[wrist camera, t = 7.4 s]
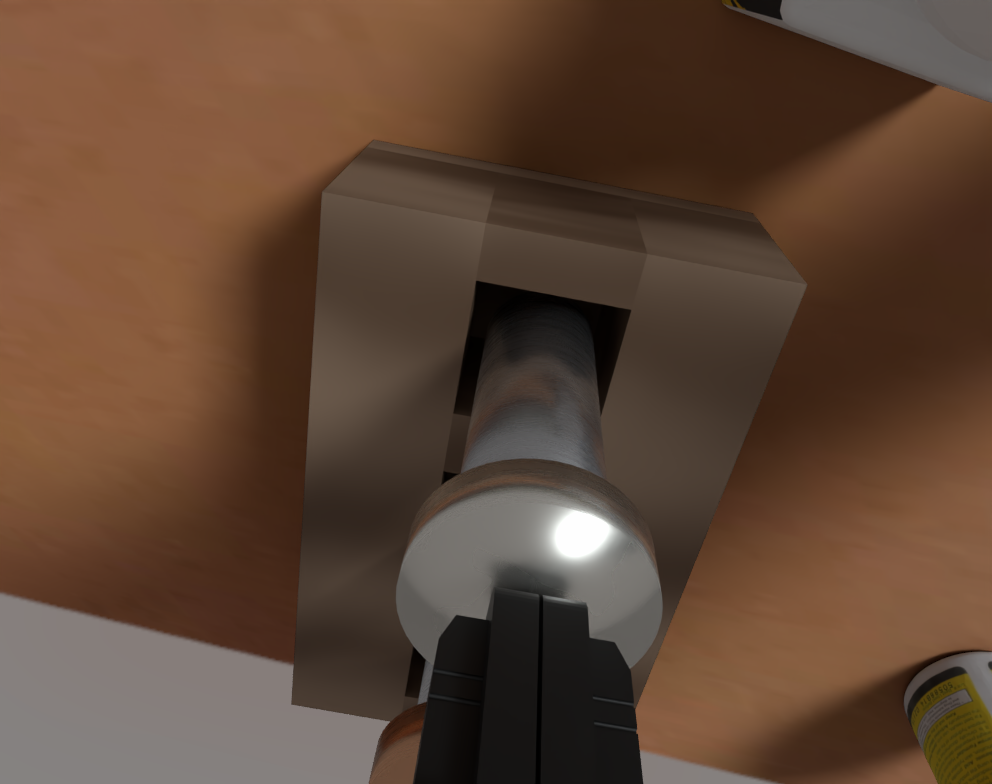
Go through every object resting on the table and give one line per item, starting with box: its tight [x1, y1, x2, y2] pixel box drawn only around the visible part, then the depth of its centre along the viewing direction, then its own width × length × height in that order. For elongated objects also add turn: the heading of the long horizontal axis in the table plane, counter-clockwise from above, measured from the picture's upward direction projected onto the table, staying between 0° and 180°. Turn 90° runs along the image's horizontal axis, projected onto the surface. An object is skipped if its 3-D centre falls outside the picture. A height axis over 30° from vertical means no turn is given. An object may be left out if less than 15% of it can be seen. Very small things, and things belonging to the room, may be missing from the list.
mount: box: [292, 140, 807, 722], centre depth 26 cm, size 19×12×6 cm, turn 170°
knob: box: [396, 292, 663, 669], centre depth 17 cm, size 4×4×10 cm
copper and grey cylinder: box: [369, 660, 433, 784], centre depth 20 cm, size 4×4×10 cm
